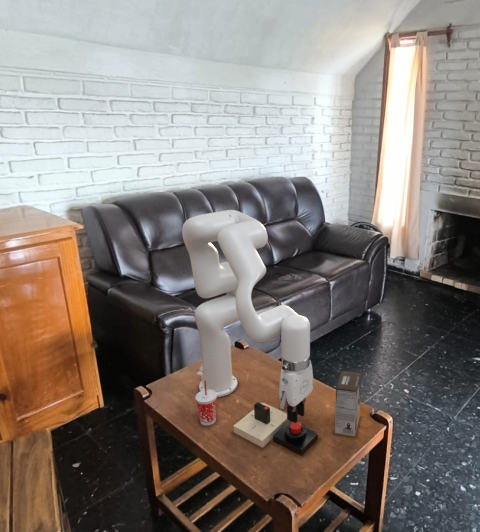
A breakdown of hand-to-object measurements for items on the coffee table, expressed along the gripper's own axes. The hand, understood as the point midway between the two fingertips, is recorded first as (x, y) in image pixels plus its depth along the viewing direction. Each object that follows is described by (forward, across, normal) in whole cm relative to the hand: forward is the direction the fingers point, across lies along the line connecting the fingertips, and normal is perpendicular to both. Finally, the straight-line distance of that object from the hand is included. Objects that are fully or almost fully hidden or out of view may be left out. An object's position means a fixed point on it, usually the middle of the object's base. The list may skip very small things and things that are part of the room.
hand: (295, 417), depth 123 cm
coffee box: (+8, +14, -9) cm, 19 cm away
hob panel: (+8, -1, +12) cm, 14 cm away
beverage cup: (+8, -8, +27) cm, 29 cm away
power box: (+8, 0, 0) cm, 8 cm away
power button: (+5, 0, 0) cm, 5 cm away
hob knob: (+6, -1, +12) cm, 13 cm away
